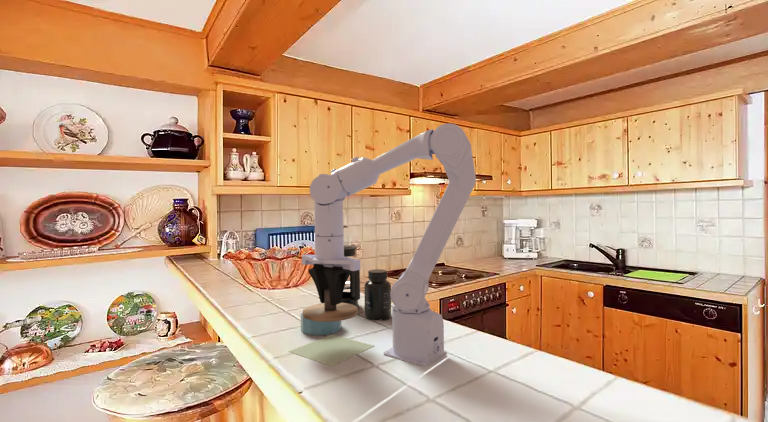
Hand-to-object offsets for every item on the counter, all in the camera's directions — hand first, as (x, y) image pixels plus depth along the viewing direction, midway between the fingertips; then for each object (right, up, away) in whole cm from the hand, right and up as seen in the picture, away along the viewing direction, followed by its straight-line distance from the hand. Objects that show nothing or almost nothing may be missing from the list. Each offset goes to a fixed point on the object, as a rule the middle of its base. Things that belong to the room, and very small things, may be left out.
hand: (330, 303), depth 78 cm
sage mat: (0, -9, 0) cm, 9 cm away
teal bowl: (-4, -9, +12) cm, 16 cm away
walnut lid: (0, -2, 0) cm, 2 cm away
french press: (-1, -9, +31) cm, 32 cm away
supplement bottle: (+9, -9, +21) cm, 25 cm away
